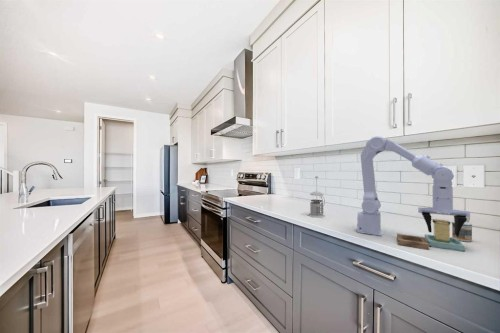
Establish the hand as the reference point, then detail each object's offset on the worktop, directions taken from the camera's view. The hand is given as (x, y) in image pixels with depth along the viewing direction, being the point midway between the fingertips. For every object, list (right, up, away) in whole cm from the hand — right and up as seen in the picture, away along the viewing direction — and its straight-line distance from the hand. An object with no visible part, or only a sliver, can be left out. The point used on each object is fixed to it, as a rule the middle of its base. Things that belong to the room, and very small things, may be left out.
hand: (442, 233), depth 79 cm
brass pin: (-1, -4, 0) cm, 4 cm away
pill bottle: (+13, -5, +6) cm, 15 cm away
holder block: (-11, -4, +1) cm, 12 cm away
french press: (-32, -5, +50) cm, 59 cm away
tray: (0, -4, 0) cm, 4 cm away
